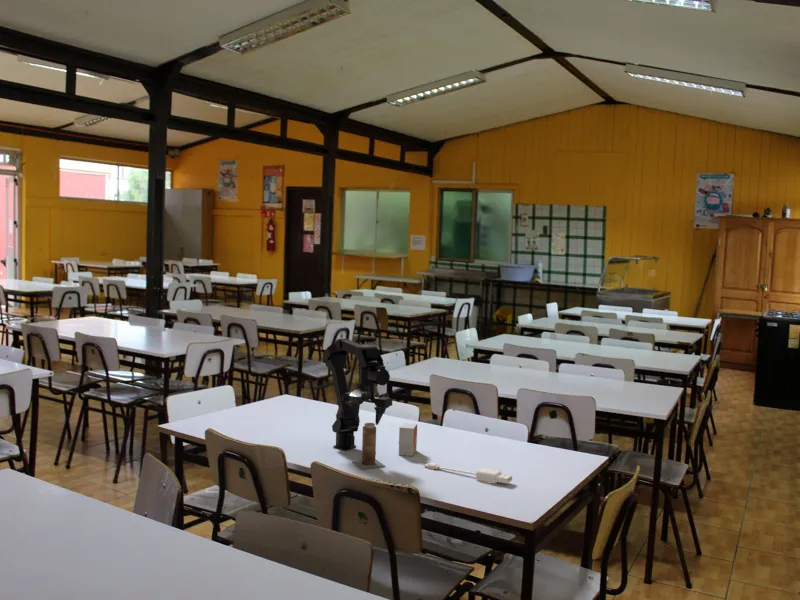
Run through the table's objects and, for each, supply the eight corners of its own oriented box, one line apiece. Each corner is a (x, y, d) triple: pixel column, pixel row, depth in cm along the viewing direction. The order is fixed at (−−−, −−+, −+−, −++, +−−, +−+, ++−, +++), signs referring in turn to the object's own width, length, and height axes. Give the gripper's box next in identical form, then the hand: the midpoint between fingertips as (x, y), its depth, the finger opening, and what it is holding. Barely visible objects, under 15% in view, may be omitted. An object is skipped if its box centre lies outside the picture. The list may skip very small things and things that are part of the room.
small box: (412, 456, 271) (413, 428, 270) (398, 455, 272) (399, 427, 271) (416, 450, 278) (417, 423, 278) (402, 449, 279) (403, 422, 279)
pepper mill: (359, 463, 258) (360, 424, 257) (366, 460, 262) (367, 421, 261) (370, 466, 255) (371, 426, 255) (377, 463, 259) (378, 423, 259)
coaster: (352, 462, 261) (352, 461, 261) (375, 459, 265) (375, 458, 264) (361, 469, 253) (361, 468, 252) (385, 467, 256) (385, 465, 256)
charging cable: (429, 468, 261) (429, 458, 261) (512, 482, 244) (512, 472, 243) (421, 471, 257) (421, 462, 256) (506, 486, 239) (506, 476, 239)
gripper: (333, 380, 263) (332, 422, 264) (376, 387, 253) (375, 431, 254) (351, 376, 273) (350, 417, 274) (393, 382, 263) (392, 425, 264)
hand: (366, 422), depth 266 cm, fingers open, 9 cm apart
